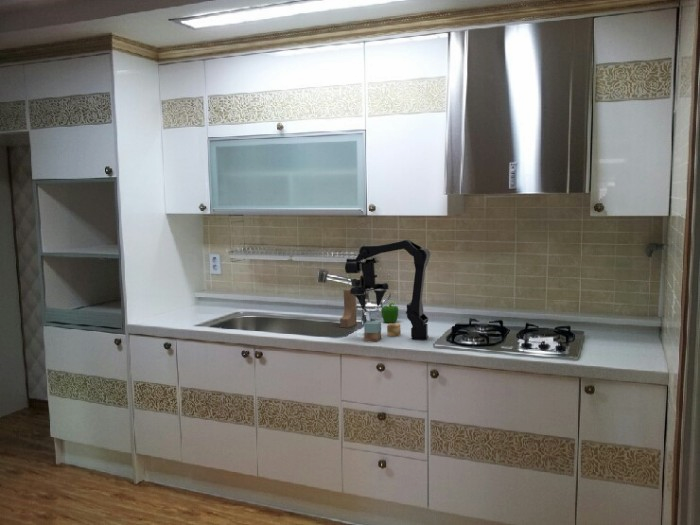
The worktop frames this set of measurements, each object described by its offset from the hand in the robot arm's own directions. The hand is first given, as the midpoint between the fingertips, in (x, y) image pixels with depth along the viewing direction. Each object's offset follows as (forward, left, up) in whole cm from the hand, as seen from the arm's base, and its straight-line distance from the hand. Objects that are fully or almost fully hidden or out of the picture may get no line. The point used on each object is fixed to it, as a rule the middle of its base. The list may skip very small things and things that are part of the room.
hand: (370, 307), depth 280 cm
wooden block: (+17, -20, -13) cm, 30 cm away
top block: (-3, +8, -9) cm, 12 cm away
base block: (-3, +8, -13) cm, 16 cm away
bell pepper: (-1, -32, -13) cm, 35 cm away
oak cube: (-10, -3, -13) cm, 17 cm away
